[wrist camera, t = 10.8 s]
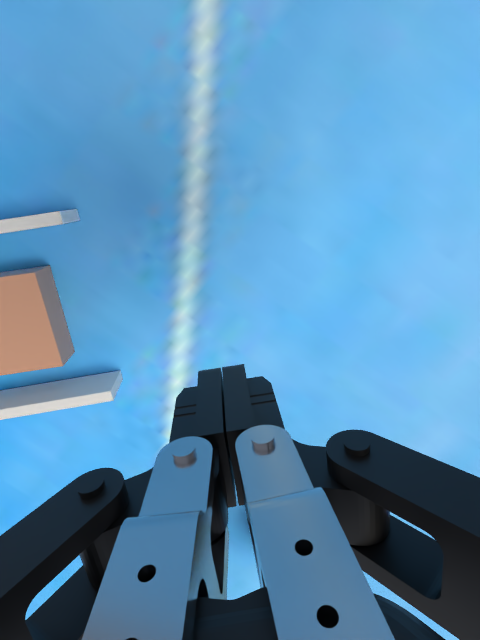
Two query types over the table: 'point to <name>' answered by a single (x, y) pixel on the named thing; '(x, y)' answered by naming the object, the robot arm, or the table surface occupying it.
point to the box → (62, 391)
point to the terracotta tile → (31, 322)
